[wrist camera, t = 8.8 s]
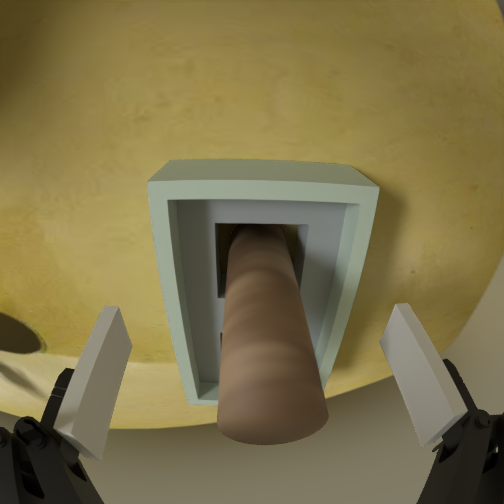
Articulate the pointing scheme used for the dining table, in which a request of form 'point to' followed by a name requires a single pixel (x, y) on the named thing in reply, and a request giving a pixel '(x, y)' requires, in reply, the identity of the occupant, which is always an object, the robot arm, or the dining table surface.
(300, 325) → the walnut dowel
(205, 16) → the dining table surface
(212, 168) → the crate
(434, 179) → the dining table surface
